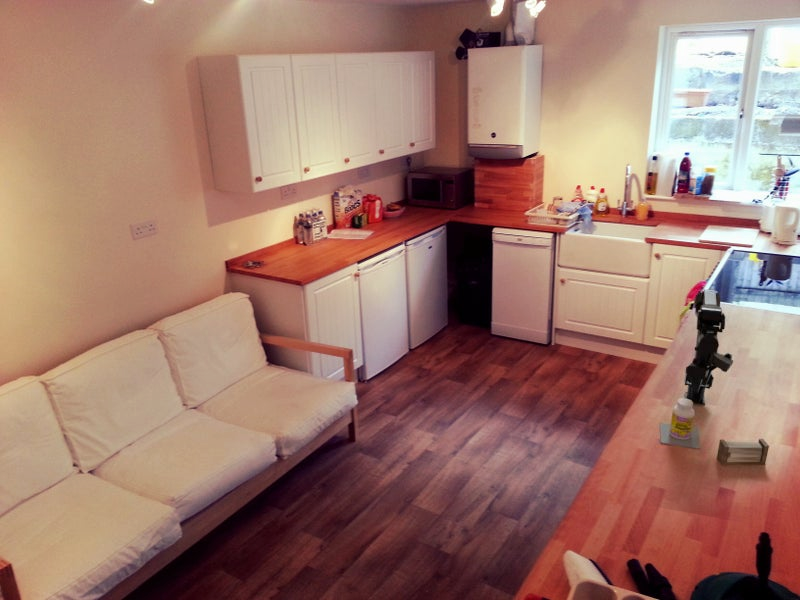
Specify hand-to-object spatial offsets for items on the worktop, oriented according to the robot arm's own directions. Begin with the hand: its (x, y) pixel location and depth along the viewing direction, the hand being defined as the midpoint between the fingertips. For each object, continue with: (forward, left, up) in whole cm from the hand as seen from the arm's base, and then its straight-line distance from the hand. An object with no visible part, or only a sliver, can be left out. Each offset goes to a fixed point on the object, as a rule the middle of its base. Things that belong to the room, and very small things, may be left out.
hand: (700, 388), depth 221 cm
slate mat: (+10, -5, -13) cm, 18 cm away
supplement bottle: (+10, -5, -13) cm, 17 cm away
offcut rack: (+20, +12, -13) cm, 27 cm away
